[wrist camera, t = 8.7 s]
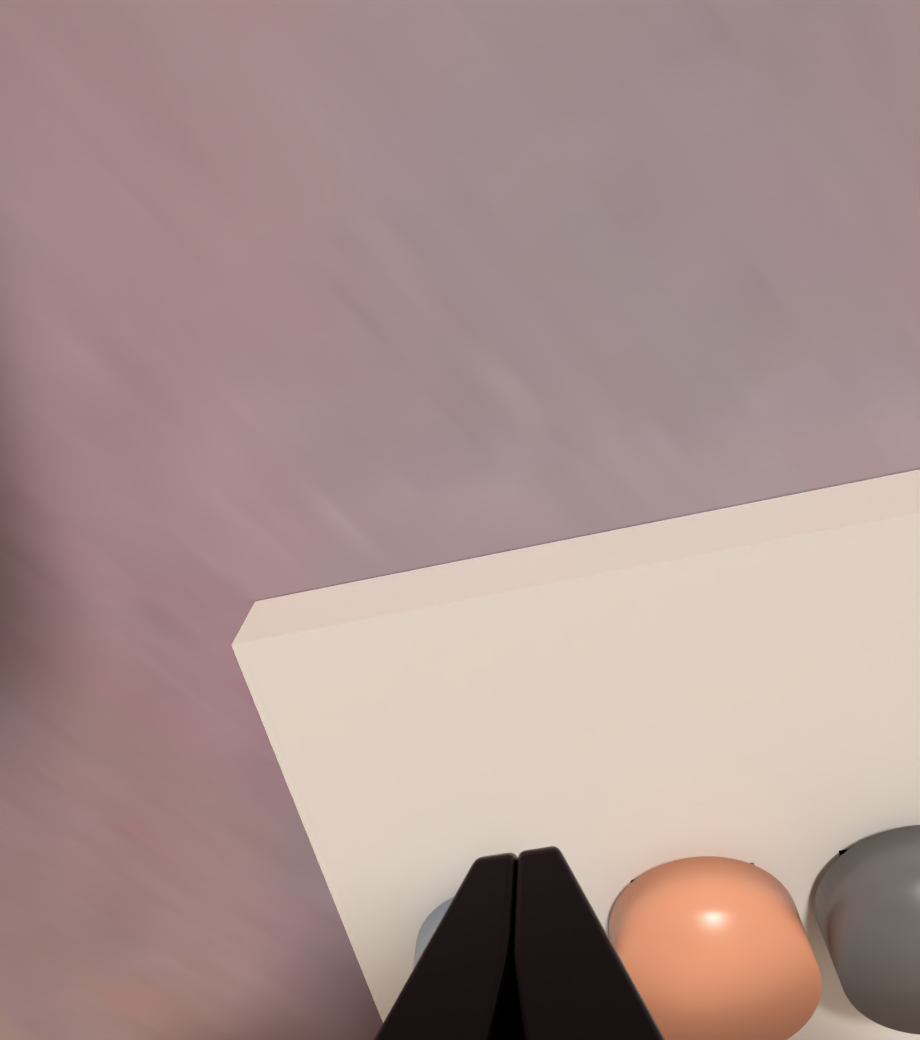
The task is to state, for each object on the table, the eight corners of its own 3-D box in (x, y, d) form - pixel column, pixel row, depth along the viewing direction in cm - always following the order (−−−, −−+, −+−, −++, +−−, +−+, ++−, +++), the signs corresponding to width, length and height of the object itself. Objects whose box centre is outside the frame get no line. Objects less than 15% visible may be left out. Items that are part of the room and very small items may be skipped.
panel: (1040, 445, 19) (1096, 478, 17) (1034, 1063, 26) (1073, 1131, 25) (255, 601, 21) (231, 645, 20) (454, 1124, 29) (450, 1190, 27)
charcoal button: (975, 759, 22) (1060, 871, 18) (979, 896, 23) (1056, 1022, 20) (783, 788, 22) (831, 902, 19) (801, 920, 24) (847, 1045, 21)
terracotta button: (767, 791, 22) (812, 904, 19) (786, 922, 24) (830, 1047, 21) (587, 818, 23) (600, 933, 20) (617, 944, 25) (634, 1069, 21)
